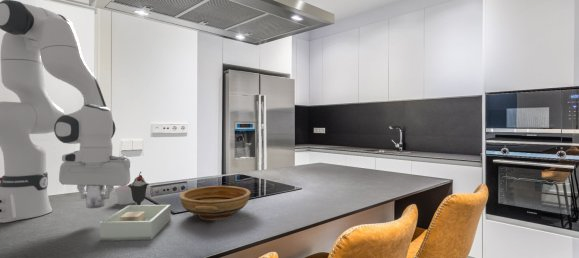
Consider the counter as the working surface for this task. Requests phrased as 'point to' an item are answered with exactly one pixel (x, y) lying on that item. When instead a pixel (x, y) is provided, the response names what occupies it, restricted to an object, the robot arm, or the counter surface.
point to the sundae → (138, 189)
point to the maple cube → (133, 216)
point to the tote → (135, 223)
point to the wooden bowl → (214, 201)
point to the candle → (124, 195)
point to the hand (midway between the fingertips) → (95, 198)
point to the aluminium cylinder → (94, 196)
